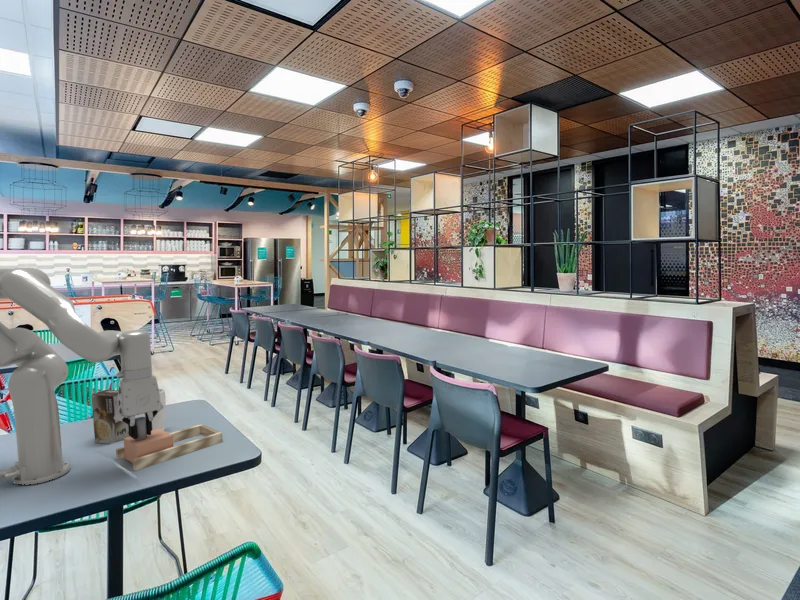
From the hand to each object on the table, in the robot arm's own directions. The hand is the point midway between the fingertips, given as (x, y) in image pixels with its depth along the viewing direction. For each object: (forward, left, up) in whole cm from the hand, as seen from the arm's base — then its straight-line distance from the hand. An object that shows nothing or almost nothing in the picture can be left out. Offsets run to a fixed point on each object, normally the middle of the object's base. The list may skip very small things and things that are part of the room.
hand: (140, 435), depth 135 cm
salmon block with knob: (+2, 0, -7) cm, 7 cm away
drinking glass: (+12, +20, -8) cm, 25 cm away
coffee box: (+1, +26, -8) cm, 27 cm away
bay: (+8, 0, -8) cm, 12 cm away
